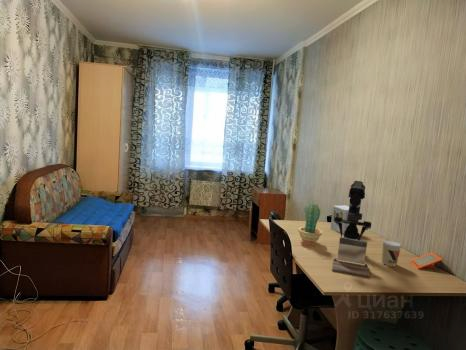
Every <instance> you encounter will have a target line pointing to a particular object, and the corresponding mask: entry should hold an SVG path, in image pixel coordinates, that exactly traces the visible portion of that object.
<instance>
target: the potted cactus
mask: <svg viewBox="0 0 466 350" xmlns="http://www.w3.org/2000/svg"><path fill="white" fill-rule="evenodd" d="M303 210H304V211H303V212H304V217H305V226H301V227H298V229H297V231H298V233H299V237H300V239H301V242H302V243H303V244H305V245H311V246H312V245H313V246H315V245H316V244H317V241H318V240H319V239H320V237H321V236H322V235H323V231H322V230H321V229H319V228H317V223H318V221H319V219H320V217H321V209H320V207H319V205H318V204H316V203H312V202H311V203H310V204H307V205H306V206H305V207H304V209H303Z"/></svg>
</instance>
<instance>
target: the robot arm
mask: <svg viewBox="0 0 466 350" xmlns="http://www.w3.org/2000/svg"><path fill="white" fill-rule="evenodd" d="M363 183H364V182H363V181H361V180H360V181H359V180H354V181H353V183H352V184H351V185H350V188H349V191H348V198H349V205H348V206H349V211H348V217H347V220H344V219H342V217H335V219H334V223H336V224H337V225H339V228H340V232H339V233H340V237H343V238H349V239H355V240H361V239H362V237H363V235H364V234H365V232H366V231H368V230H369V229H370V230H371V228H372V222H371V221H367V220H364V221H362V219H363V213H360V212H361V204H362V200H364V199H365V198H366V192H365V190H366V186H365V185H364V184H363ZM342 223H347V224H349V225H348V227H347V228H346V231H345V233H344V234H342ZM356 225H357V226H356ZM358 226H361V231H360V232H359V229H358Z"/></svg>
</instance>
